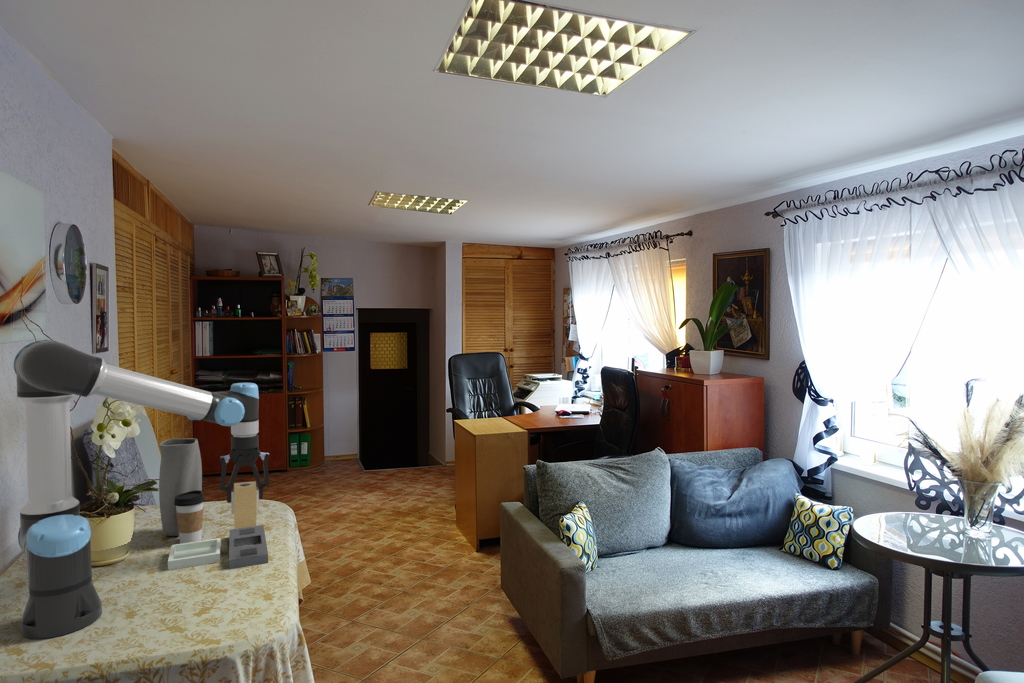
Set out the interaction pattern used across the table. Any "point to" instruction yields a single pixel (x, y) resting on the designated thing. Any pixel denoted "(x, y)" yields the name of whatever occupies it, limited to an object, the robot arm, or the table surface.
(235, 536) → the rail
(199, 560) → the parts tray
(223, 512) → the table surface
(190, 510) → the coffee cup
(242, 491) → the block
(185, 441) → the vase
